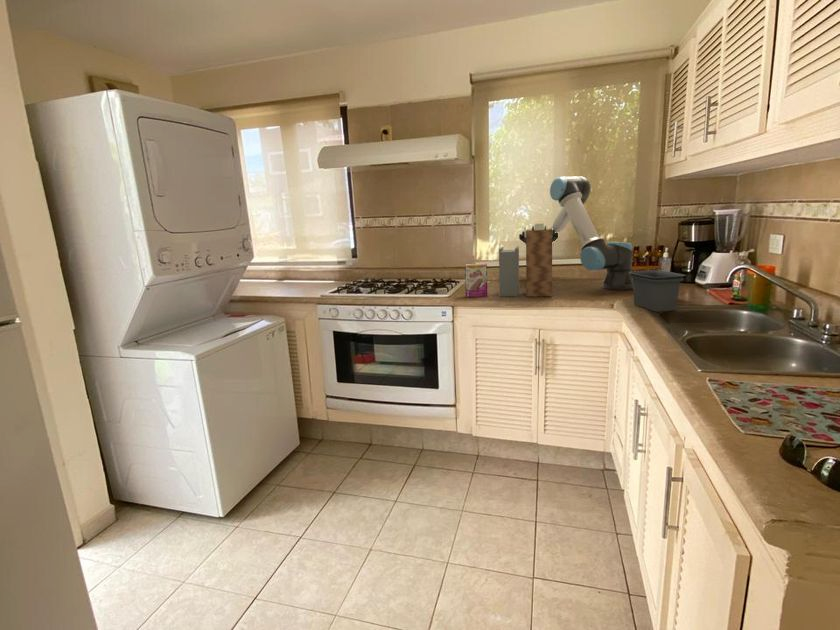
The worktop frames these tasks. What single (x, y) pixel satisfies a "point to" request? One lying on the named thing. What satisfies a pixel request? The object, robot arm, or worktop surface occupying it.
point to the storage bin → (656, 289)
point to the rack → (509, 272)
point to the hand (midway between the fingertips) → (538, 228)
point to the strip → (539, 226)
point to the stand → (539, 262)
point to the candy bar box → (476, 280)
